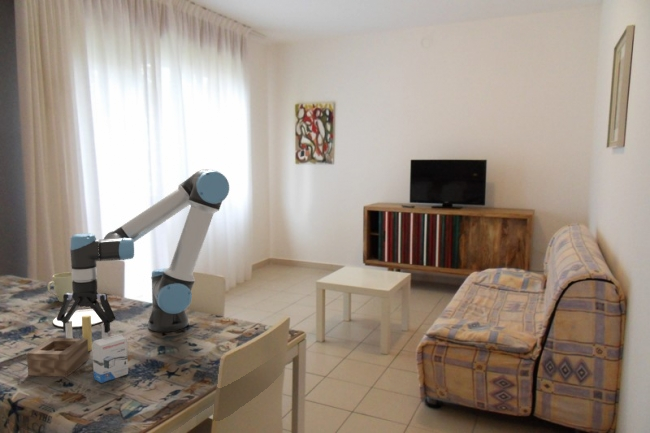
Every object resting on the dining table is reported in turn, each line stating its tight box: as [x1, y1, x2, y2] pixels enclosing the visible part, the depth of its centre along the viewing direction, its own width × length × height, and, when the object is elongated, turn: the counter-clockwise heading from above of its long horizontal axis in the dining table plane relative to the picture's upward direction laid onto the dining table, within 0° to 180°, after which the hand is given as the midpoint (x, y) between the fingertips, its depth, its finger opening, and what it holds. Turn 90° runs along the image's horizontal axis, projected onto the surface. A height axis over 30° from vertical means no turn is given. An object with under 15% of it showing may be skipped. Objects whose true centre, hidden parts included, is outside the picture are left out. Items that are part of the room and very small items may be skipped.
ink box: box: [92, 333, 129, 384], centre depth 138 cm, size 9×5×12 cm, turn 141°
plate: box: [52, 308, 103, 329], centre depth 186 cm, size 21×21×1 cm
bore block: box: [26, 337, 89, 377], centre depth 143 cm, size 12×12×7 cm
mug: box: [46, 272, 73, 303], centre depth 207 cm, size 11×10×12 cm
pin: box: [81, 315, 93, 352], centre depth 156 cm, size 3×3×12 cm
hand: (87, 340), depth 156 cm, fingers open, 12 cm apart
